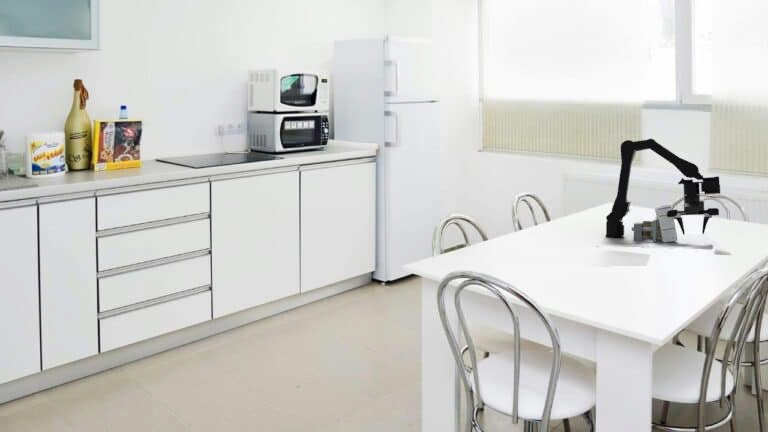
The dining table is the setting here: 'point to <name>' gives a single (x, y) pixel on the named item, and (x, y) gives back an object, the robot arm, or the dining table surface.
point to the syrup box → (666, 224)
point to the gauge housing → (640, 234)
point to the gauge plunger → (651, 229)
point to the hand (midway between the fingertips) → (693, 234)
